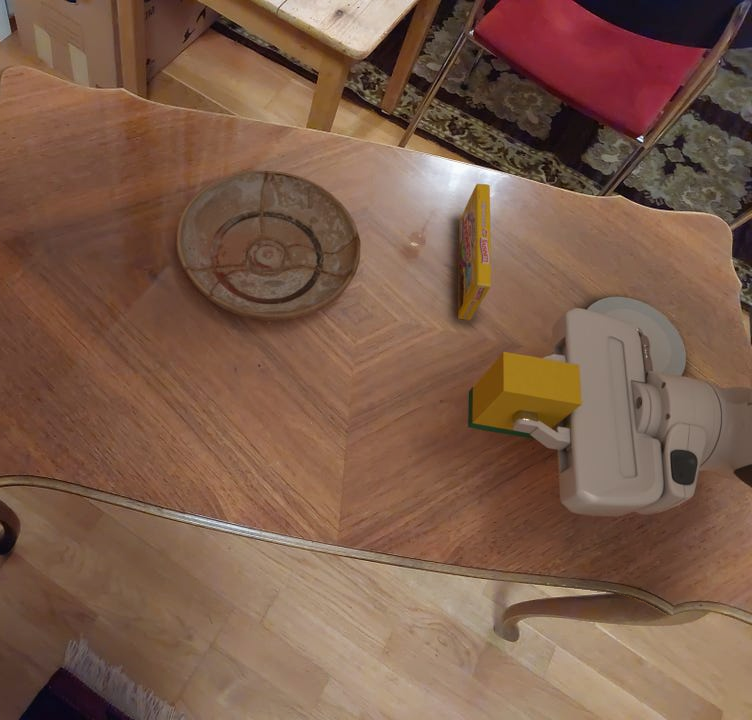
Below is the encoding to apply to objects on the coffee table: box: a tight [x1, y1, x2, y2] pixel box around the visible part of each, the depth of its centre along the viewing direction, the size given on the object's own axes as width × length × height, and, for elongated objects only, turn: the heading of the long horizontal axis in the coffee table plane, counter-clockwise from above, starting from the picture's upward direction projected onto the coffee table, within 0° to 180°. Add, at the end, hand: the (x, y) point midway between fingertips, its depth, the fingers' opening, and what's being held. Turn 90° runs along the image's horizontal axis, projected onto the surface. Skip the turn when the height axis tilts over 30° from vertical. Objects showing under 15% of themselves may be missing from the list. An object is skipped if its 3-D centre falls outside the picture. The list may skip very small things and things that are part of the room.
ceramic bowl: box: [176, 170, 362, 322], centre depth 85 cm, size 23×24×5 cm
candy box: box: [457, 183, 492, 321], centre depth 86 cm, size 16×2×8 cm, turn 172°
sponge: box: [467, 351, 582, 440], centre depth 62 cm, size 4×7×9 cm, turn 81°
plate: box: [585, 296, 687, 376], centre depth 85 cm, size 14×14×1 cm
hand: (514, 394), depth 62 cm, fingers closed on sponge, 4 cm apart
